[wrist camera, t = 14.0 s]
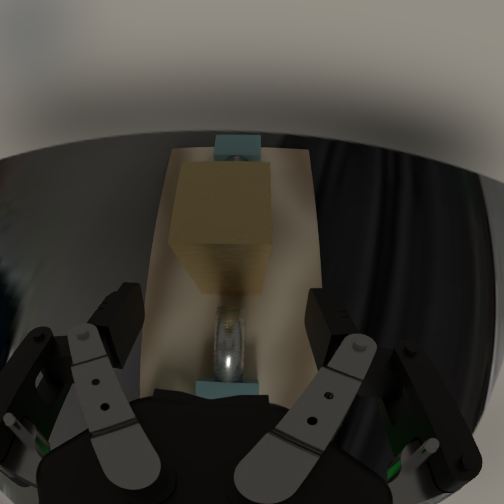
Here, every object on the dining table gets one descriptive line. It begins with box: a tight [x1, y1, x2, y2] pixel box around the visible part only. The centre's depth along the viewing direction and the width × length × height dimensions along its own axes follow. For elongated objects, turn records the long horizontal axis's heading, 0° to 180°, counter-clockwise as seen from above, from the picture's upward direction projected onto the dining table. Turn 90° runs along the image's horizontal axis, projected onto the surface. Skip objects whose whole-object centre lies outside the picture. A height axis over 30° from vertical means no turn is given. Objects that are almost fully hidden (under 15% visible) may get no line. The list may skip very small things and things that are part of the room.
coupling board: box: [140, 135, 322, 409], centre depth 21 cm, size 14×25×4 cm, turn 179°
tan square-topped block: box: [168, 161, 272, 296], centre depth 17 cm, size 4×4×10 cm
